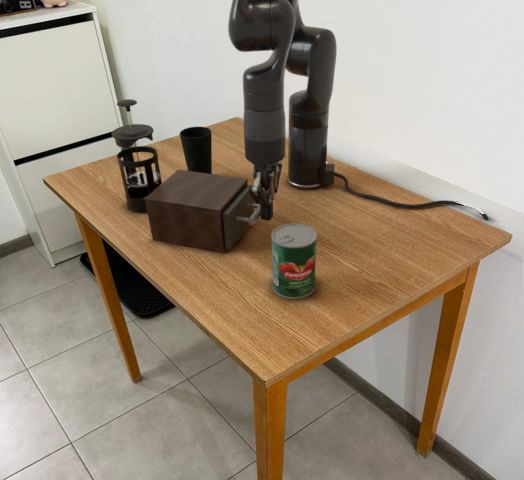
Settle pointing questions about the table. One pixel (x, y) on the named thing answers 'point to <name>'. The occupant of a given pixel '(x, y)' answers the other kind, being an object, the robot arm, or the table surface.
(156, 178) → the french press
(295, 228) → the canned tomato
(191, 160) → the cup
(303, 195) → the table surface
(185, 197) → the cabinet
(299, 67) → the robot arm
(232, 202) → the drawer
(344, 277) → the table surface
